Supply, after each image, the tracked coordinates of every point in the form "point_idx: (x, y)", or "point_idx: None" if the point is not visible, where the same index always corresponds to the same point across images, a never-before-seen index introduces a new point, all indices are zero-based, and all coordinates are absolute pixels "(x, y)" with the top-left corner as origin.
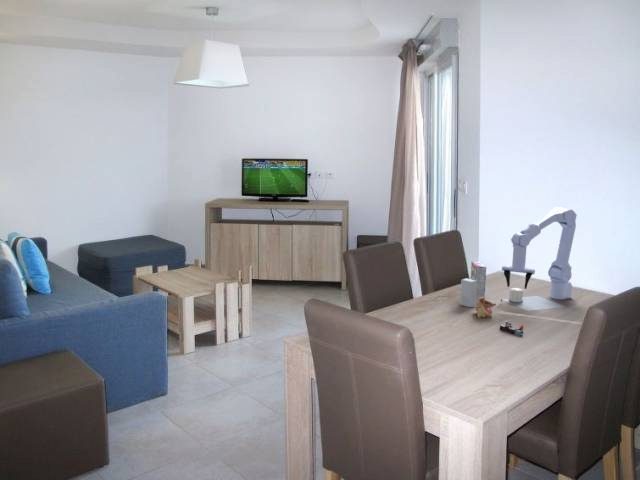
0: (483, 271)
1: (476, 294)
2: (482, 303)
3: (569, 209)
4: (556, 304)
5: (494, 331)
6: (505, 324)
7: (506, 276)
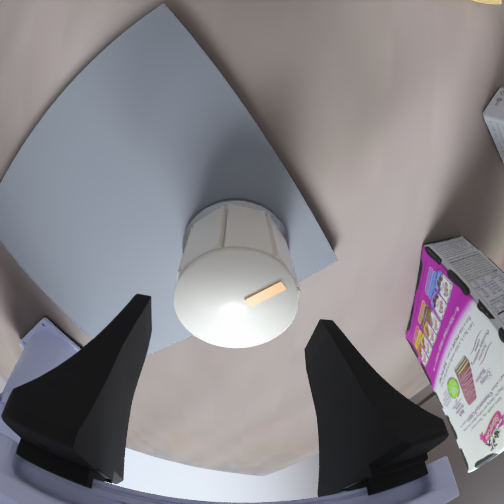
0: None
1: (475, 252)
2: None
3: None
4: (15, 247)
5: None
6: None
7: (401, 404)
